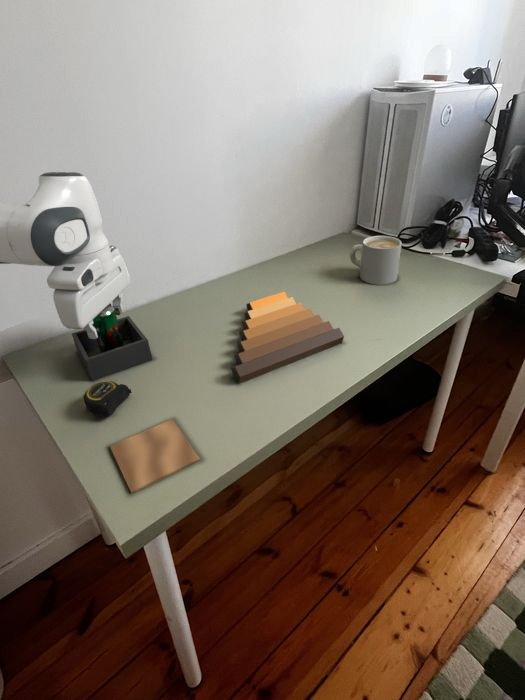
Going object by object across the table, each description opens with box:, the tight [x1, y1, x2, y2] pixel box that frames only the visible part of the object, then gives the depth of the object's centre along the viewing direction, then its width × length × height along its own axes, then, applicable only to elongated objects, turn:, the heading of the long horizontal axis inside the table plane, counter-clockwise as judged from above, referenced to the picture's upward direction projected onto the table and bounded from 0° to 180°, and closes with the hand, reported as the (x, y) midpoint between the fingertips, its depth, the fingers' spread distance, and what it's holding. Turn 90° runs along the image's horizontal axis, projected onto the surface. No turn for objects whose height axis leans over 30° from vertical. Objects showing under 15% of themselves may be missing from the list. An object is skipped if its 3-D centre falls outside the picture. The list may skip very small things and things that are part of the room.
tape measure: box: [83, 380, 132, 418], centre depth 78 cm, size 7×7×4 cm
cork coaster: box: [109, 418, 201, 494], centre depth 69 cm, size 11×11×1 cm
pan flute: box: [231, 291, 345, 384], centre depth 96 cm, size 25×3×25 cm
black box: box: [71, 315, 153, 382], centre depth 92 cm, size 13×13×5 cm
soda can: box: [92, 302, 125, 354], centre depth 90 cm, size 5×5×12 cm
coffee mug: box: [349, 235, 402, 286], centre depth 118 cm, size 13×10×10 cm
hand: (107, 324), depth 89 cm, fingers open, 8 cm apart
